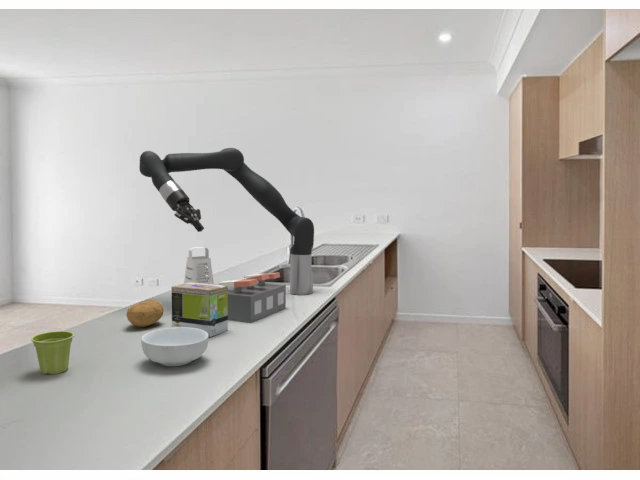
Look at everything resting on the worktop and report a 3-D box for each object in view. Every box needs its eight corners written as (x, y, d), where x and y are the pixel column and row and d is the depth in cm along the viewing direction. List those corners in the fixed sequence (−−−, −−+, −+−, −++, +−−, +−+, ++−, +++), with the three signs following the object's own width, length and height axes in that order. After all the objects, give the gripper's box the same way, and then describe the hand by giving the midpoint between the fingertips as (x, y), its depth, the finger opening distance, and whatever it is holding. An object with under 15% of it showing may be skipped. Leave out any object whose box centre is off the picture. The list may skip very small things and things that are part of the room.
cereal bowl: (127, 367, 135) (126, 339, 134) (168, 349, 150) (168, 324, 149) (183, 376, 128) (183, 347, 128) (220, 356, 144) (220, 331, 143)
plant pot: (41, 380, 124) (40, 344, 124) (26, 370, 131) (25, 336, 130) (81, 370, 131) (80, 336, 131) (65, 361, 138) (64, 328, 137)
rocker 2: (239, 284, 199) (238, 279, 199) (269, 278, 193) (268, 273, 193) (232, 286, 194) (231, 281, 194) (262, 280, 189) (261, 275, 189)
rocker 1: (226, 285, 191) (226, 280, 191) (257, 284, 186) (256, 278, 186) (218, 287, 187) (218, 282, 187) (250, 286, 182) (249, 281, 181)
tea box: (229, 330, 171) (228, 284, 169) (209, 338, 161) (209, 290, 160) (191, 324, 177) (190, 280, 175) (170, 331, 168) (170, 285, 166)
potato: (117, 329, 169) (117, 304, 168) (146, 319, 182) (146, 296, 182) (142, 333, 166) (142, 307, 165) (170, 322, 179) (170, 299, 178)
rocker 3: (250, 279, 206) (250, 274, 206) (280, 276, 201) (279, 272, 201) (244, 281, 202) (243, 276, 202) (273, 278, 196) (273, 274, 196)
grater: (215, 295, 226) (215, 248, 224) (191, 297, 220) (191, 249, 218) (205, 291, 234) (205, 245, 232) (182, 293, 228) (182, 247, 227)
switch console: (257, 301, 215) (257, 275, 214) (293, 305, 208) (293, 278, 207) (211, 317, 187) (211, 287, 186) (251, 322, 180) (251, 291, 179)
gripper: (167, 188, 190) (196, 224, 186) (191, 188, 202) (218, 222, 198) (156, 203, 193) (183, 238, 189) (180, 202, 205) (206, 235, 201)
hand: (201, 230), depth 193 cm, fingers closed
